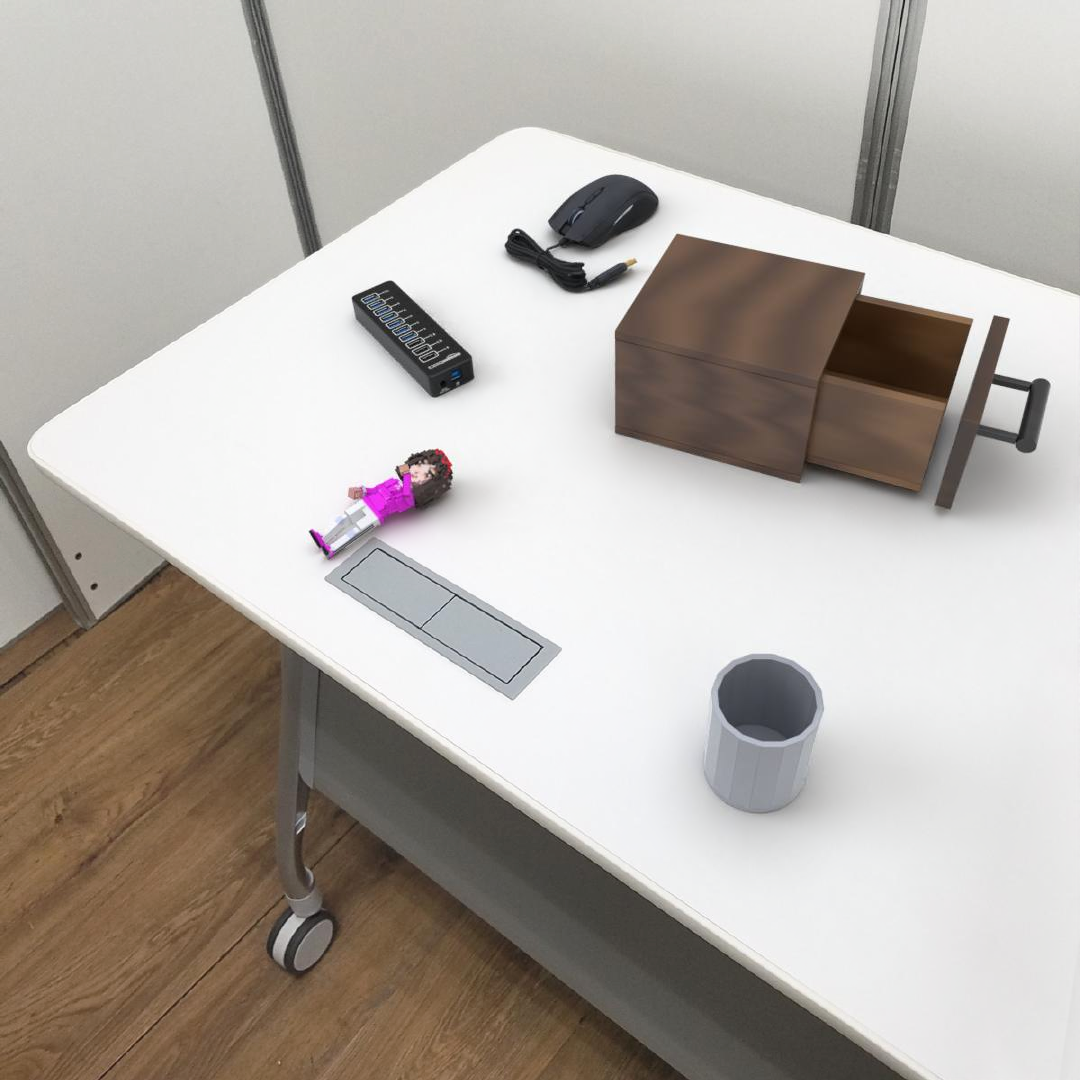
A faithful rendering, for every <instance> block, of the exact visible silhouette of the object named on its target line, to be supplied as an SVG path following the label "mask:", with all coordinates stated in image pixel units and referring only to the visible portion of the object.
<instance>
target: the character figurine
mask: <svg viewBox="0 0 1080 1080" xmlns="http://www.w3.org/2000/svg"><path fill="white" fill-rule="evenodd" d="M452 466H453V463H452V462H451V461H450V459H449V457H448V455H446V454H445V452H444V451H443V450H442V449H439V448H438V447H437V448H435V449H431V448H429V449H428V450H426V449H424V450H422V451H420V452H418V451H417V452H415V453H411V454H410V456H409V457H407V459H406V460H405V461H404V464H401V465H396V466H395V469H394V471H395V473H396V475H397V476H398V478H394V477H390V478H389V479H386V480H384V481H383V482H381V483H379V484H377V485H375V486H374V487H366V486H365V485H363V484H360V485H359V486H353V487H348V491H347V497H348V498H350V499H351V500H352V501H355V500H357V501H355V503H354V504H353V505H351V506H350V507H348V508H347V509H345V510H344V513H342V514H341V515H340V516H338V517H337V518H335V519H334V520H333V521H332V522H331V523H330V524H329V525H328V526H327V527H325V528H324V530H322V531H321V532H320V533H319V531H318V530H317V531H316V530H315V529H313V528H311V529H310V530H308V533H309V535H310V536H311V538H312V540H313V541H314V544H315V545H316V546H317V548H319V549H322V550H321V551H322V553H323V555H324V557H326V559H327V560H330V559H331V558H332V557H334V556H335V555H337V554H338V553H340V552H341V551H342V550H344V549H347V548H349V547H350V546H351V545H352V544H354V543H355V542H357V541H358V540H360V539H361V538H363V536H365V535H366V534H368V533H369V532H371V531H373V530H374V529H375V528H376V527H377V526H378V527H380V526H381V525H383V524H384V523H385V519H386V518H388V517H389V515H391V514H393V513H395V512H398V513H400V514H401V513H402V512H404V511H407V510H408V509H410V508H412V507H414V506H415V509H419V510H421V509H423V508H425V507H427V506H429V505H431V503H433V502H435V501H437V500H439V499H440V498H441V496H442V495H443V494H445V493H446V492H447V491H449V490H451V489H452V487H451V486H452V482H453V480H454V476H453V475H454V472H453V470H452ZM351 526H354V527H353V528H352V529H350V530H348V532H346V533H345V534H343V535H342V536H341V537H339V536H340V535H341V534H342V533H343V532H344V531H345V530H347V529H348V528H350V527H351ZM335 537H336V538H338V537H339V538H338V539H337V540H336V541H333V542H332V543H331V544H329V543H330V542H331V541H332V540H333V539H334V538H335Z"/></svg>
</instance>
